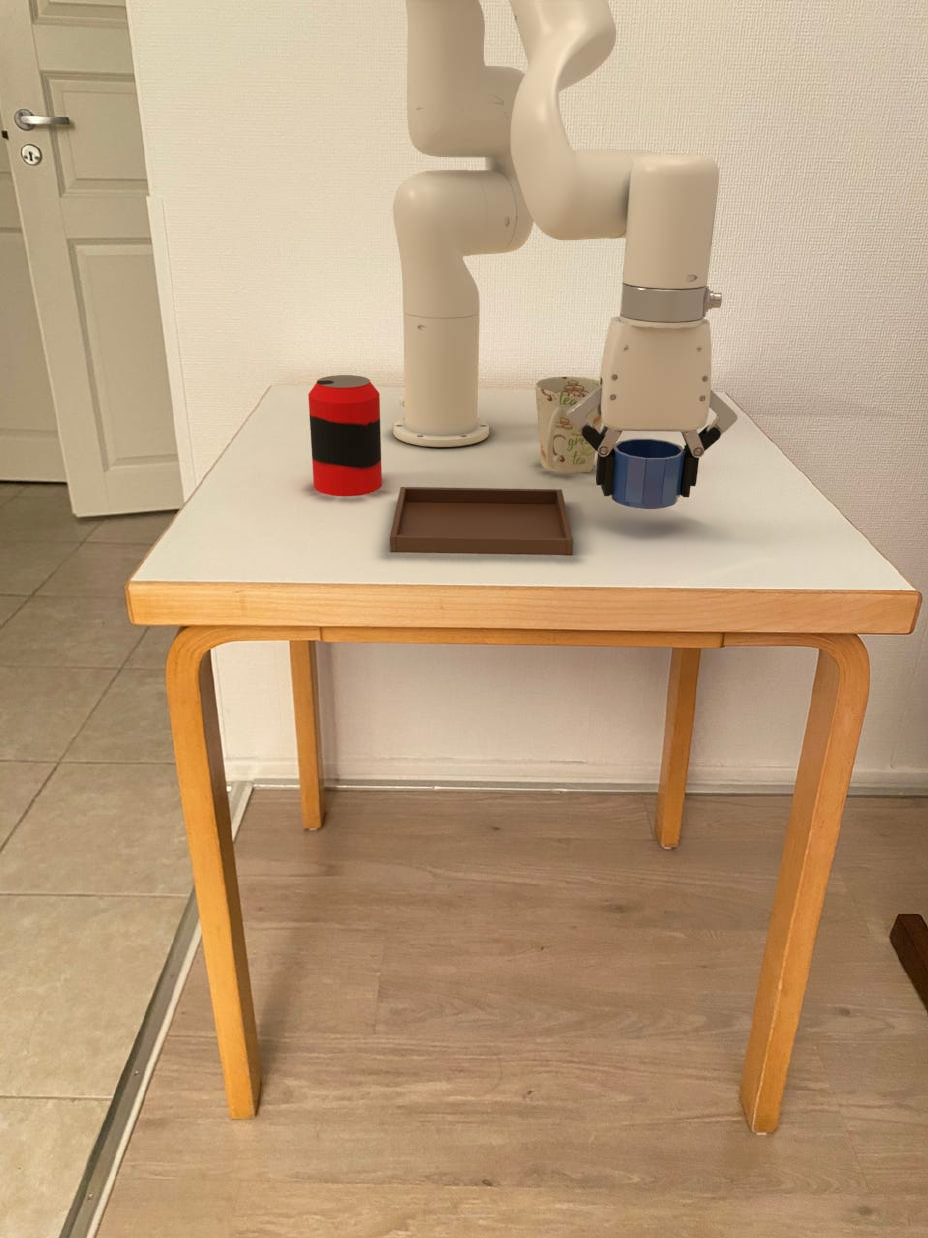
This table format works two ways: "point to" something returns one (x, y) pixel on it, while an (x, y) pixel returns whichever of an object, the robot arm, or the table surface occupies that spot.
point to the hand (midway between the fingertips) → (644, 490)
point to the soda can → (345, 435)
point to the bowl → (647, 473)
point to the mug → (564, 424)
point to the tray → (481, 521)
